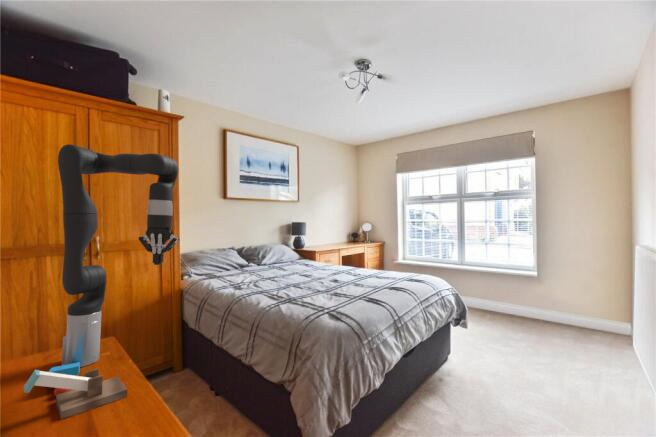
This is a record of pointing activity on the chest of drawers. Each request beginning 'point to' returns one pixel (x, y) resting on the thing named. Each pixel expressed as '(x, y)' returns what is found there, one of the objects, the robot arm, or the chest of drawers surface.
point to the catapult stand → (90, 395)
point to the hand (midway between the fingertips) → (157, 264)
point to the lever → (65, 369)
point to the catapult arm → (56, 381)
